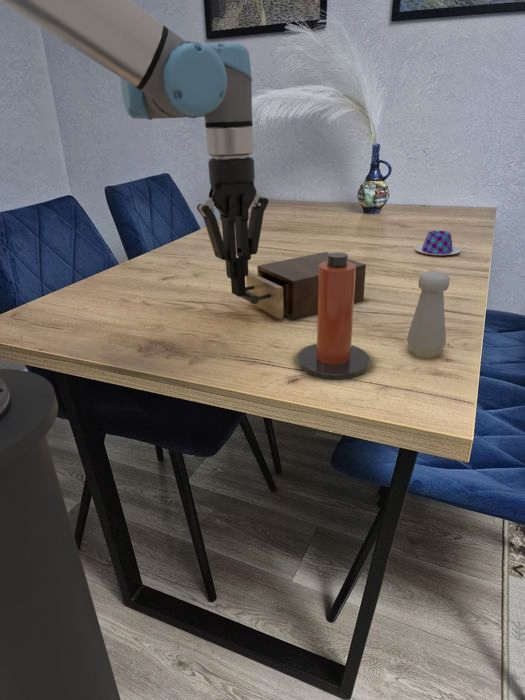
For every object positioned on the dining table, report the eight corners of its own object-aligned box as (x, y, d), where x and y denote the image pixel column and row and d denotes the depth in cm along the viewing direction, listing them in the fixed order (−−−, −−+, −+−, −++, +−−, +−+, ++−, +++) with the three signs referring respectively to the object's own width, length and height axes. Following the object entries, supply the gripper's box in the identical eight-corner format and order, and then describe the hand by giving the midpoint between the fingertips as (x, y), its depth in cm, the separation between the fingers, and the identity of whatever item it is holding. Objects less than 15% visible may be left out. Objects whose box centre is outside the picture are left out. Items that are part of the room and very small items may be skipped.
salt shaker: (440, 345, 77) (452, 268, 71) (447, 362, 72) (460, 279, 66) (403, 344, 78) (412, 267, 72) (407, 359, 73) (417, 278, 67)
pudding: (462, 258, 122) (466, 238, 120) (414, 256, 125) (417, 236, 123) (457, 247, 133) (460, 228, 130) (413, 245, 136) (415, 227, 133)
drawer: (258, 323, 85) (257, 293, 82) (228, 305, 94) (226, 277, 91) (346, 299, 95) (348, 271, 92) (311, 285, 103) (312, 259, 101)
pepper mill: (311, 361, 72) (313, 257, 64) (323, 347, 76) (326, 248, 69) (343, 367, 69) (349, 261, 62) (354, 353, 73) (361, 252, 66)
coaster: (285, 370, 71) (285, 365, 70) (313, 341, 79) (313, 337, 79) (356, 386, 66) (356, 381, 66) (377, 354, 75) (378, 349, 74)
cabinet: (293, 320, 88) (293, 281, 85) (258, 301, 98) (257, 265, 95) (363, 300, 96) (366, 264, 93) (324, 285, 106) (325, 251, 103)
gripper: (253, 153, 83) (258, 282, 93) (184, 158, 77) (198, 295, 87) (276, 155, 77) (279, 292, 87) (204, 160, 71) (216, 307, 81)
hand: (238, 294), depth 87 cm, fingers closed
